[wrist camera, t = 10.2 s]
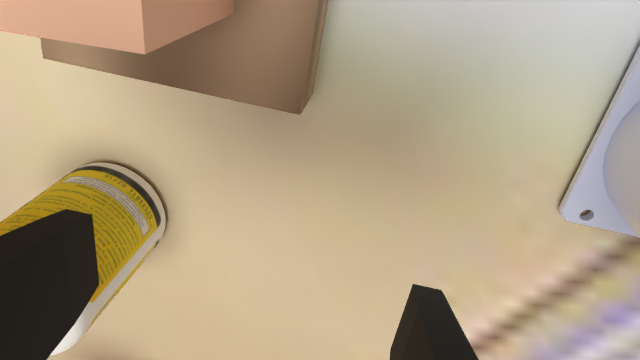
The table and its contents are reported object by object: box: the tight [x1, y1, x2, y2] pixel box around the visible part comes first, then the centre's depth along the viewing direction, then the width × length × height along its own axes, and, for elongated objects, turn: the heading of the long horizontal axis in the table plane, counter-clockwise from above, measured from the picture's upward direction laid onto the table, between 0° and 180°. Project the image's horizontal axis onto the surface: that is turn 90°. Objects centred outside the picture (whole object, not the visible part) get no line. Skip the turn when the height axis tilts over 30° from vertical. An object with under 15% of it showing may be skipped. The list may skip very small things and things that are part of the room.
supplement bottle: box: [0, 163, 166, 356], centre depth 19 cm, size 5×5×10 cm
